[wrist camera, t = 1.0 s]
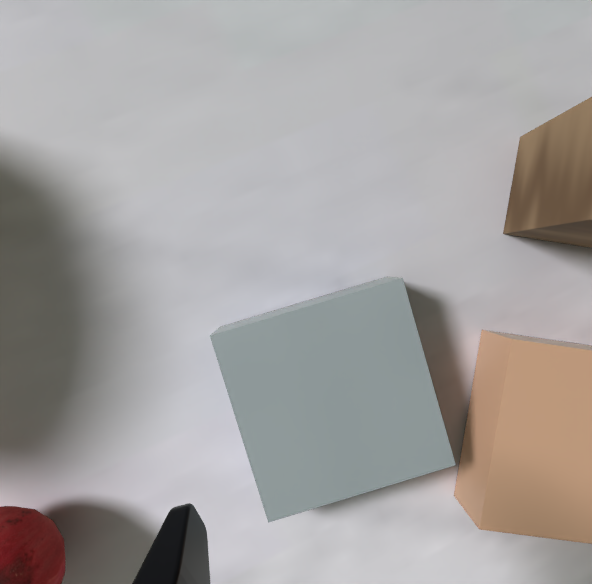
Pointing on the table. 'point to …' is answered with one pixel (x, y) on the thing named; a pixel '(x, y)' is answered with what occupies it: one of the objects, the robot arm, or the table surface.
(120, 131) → the table surface
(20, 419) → the table surface
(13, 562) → the onion
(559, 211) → the walnut pillar
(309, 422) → the stone slab
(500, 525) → the terracotta slab
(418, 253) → the table surface
